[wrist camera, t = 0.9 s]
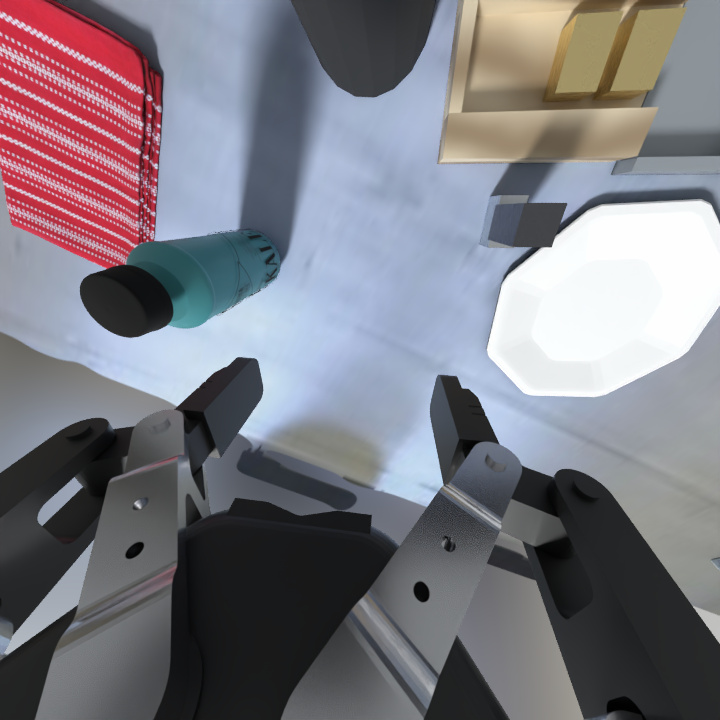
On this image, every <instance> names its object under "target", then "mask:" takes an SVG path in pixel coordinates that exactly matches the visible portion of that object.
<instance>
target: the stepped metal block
mask: <svg viewBox="0 0 720 720" xmlns="http://www.w3.org/2000/svg"><path fill="white" fill-rule="evenodd" d="M528 197H529V195H499V196H491V197H490V198H489V203H488V207H487V212H486V216H485V221H484V225H483V230H482V234H481V239H480V243H479V244H480V245H482V246H485V247H488V248H514V247H552V245H553V242H554V239H555V237H556V234H557V231H558V228H559V225H560V223H561V220H562V217H563V214H564V211H565V209H566V206H567V203H527V200H528Z"/></svg>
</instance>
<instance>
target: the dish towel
mask: <svg viewBox="0 0 720 720" xmlns="http://www.w3.org/2000/svg"><path fill="white" fill-rule="evenodd" d="M161 86H162V77H161V76H160V74H159V73H158V72H157V71H155V70H153V69H152V68H150V67H149V62H148V59H147V58H146V57H145V56H144V55H143V54H142V52H141V51H140V50H139V49H138V48H137V47H136V46H134V45H133V44H131V43H130V42H128V41H127V40H125V39H124V38H122V37H121V36H119V35H118V34H116V33H115V32H113V31H111V30H109V29H108V28H106V27H104V26H102V25H100V24H99V23H97V22H95V21H94V20H92V19H90V18H88V17H86V16H84V15H82V14H80V13H78V12H76V11H74V10H72V9H70V8H68V7H66V6H64V5H62V4H59V3H58V2H56V1H54V0H0V167H1V172H2V178H3V184H4V186H5V193H6V204H7V208H8V211H9V214H10V218H11V223H12V225H13V226H15V227H19V228H21V229H23V230H26V231H28V232H30V233H32V234H35V235H37V236H39V237H41V238H43V239H45V240H47V241H49V242H51V243H53V244H55V245H57V246H59V247H62V248H64V249H66V250H68V251H70V252H72V253H74V254H76V255H79V256H80V257H83V258H85V259H87V260H89V261H91V262H93V263H95V264H98V265H100V266H102V267H104V268H106V269H108V268H110V267H113V266H118V265H126V261H127V258H128V255H129V254H130V252H131V251H132V250H133V249H134V248H135V247H136V246H138V245H140V244H142V243H145V242H151V241H154V236H155V218H156V196H157V180H158V168H159V164H158V160H159V152H160V141H161V138H160V137H161V133H160V131H161V113H162V106H161Z"/></svg>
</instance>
